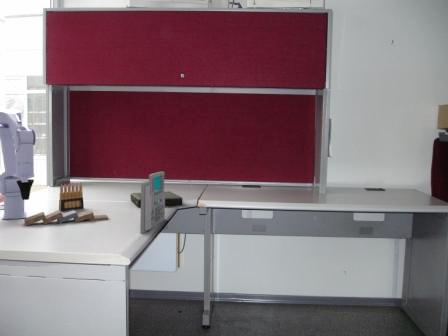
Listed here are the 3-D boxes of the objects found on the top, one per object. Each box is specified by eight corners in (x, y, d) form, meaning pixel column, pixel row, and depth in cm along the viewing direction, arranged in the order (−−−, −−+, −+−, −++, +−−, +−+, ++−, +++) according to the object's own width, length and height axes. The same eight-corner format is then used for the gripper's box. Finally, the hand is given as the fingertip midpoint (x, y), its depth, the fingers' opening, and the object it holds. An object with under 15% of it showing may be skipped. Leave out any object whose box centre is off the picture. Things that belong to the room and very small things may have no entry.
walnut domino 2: (41, 217, 151) (59, 209, 154) (43, 222, 151) (61, 213, 154) (42, 220, 146) (61, 212, 149) (44, 224, 147) (63, 216, 150)
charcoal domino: (55, 216, 153) (73, 210, 157) (57, 221, 153) (74, 214, 157) (58, 218, 149) (76, 212, 152) (59, 223, 149) (78, 216, 153)
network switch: (187, 206, 191) (187, 196, 191) (140, 210, 179) (140, 199, 178) (168, 199, 211) (168, 190, 211) (124, 202, 199) (124, 192, 198)
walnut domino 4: (87, 215, 158) (105, 214, 161) (87, 220, 158) (105, 219, 162) (89, 218, 154) (108, 217, 157) (89, 222, 154) (108, 221, 157)
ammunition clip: (60, 211, 171) (60, 184, 170) (58, 211, 172) (58, 183, 171) (83, 208, 179) (83, 182, 178) (81, 208, 180) (81, 181, 179)
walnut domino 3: (72, 215, 156) (90, 210, 159) (73, 219, 156) (91, 214, 159) (74, 218, 151) (93, 212, 155) (76, 222, 152) (94, 216, 155)
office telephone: (146, 234, 136) (147, 177, 135) (139, 234, 137) (140, 176, 135) (168, 220, 159) (168, 171, 157) (161, 220, 160) (162, 170, 158)
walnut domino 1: (24, 218, 148) (43, 211, 151) (25, 223, 149) (45, 215, 152) (24, 221, 144) (44, 214, 147) (26, 225, 144) (45, 218, 147)
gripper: (13, 161, 149) (14, 196, 151) (11, 164, 136) (12, 203, 137) (34, 161, 152) (34, 196, 154) (34, 164, 139) (34, 202, 140)
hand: (25, 199), depth 146 cm, fingers closed
